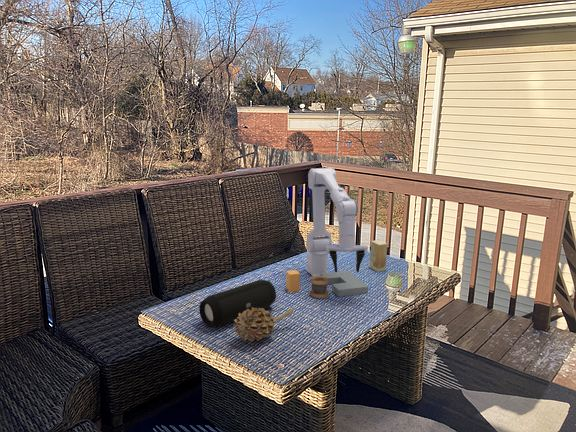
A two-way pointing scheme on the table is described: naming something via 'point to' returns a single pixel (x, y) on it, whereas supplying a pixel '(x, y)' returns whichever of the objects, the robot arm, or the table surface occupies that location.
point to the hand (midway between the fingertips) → (346, 271)
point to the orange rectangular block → (293, 281)
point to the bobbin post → (319, 286)
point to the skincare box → (378, 255)
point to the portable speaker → (236, 302)
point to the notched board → (345, 283)
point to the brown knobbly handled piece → (257, 323)
